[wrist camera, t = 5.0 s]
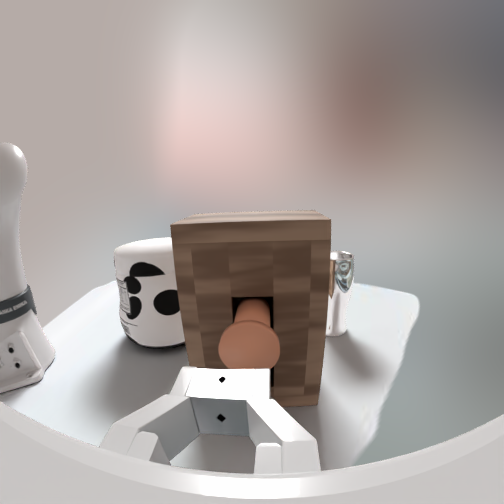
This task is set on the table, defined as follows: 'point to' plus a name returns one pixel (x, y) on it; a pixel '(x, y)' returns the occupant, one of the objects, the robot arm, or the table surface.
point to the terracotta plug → (250, 337)
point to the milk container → (149, 293)
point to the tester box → (257, 288)
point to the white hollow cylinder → (339, 291)
